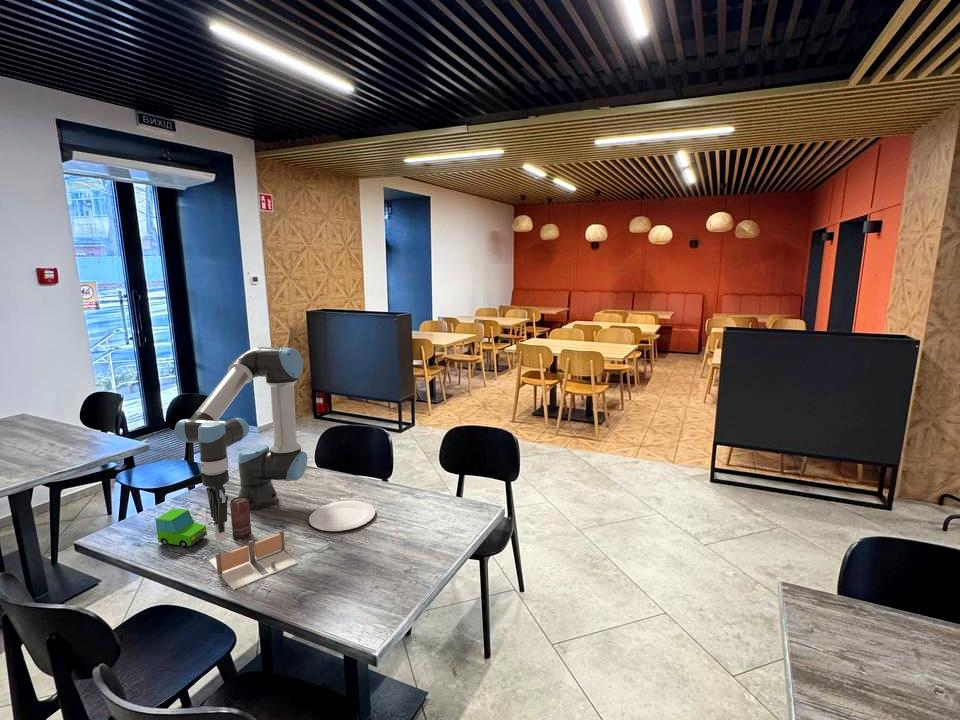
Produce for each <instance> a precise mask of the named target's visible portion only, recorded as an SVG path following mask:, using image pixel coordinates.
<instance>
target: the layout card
mask: <svg viewBox="0 0 960 720" xmlns="http://www.w3.org/2000/svg"><path fill="white" fill-rule="evenodd" d="M247 546H248V550H249V545H247ZM254 549H255V542H254ZM208 562H209V563H210V564H211V565H212V567H213V568H214V570H215V571H217V563H216V557H214V558H211V559H209V560H208ZM297 564H298V562H297V561H296V560H295V559H294V558H293V557H292V556H291V555H289V554H288V553H287V552H286V551H285V550H281V549H280V550H277V551H275V552H272V553H269V554H267V555H264V556H262V557H259V558H256V554H255V562H253V563H251V562H250V554H249V562H246V563H244V564H241V565H238V566H236V567H233V568H231V569H228V570H225V571H223V573H222V574H221V575H220V577H221V578H222V579H223V581H225V583H226V584H227V585H228V586H229V587H230V588H231V589H232V590H233V591H236V590H237V589H240V588H242V587H245V586H247V585H250V584H252V583H254V582H256V581H257V582H258V581H259V580H261V579H264V578H266V577H269V576H271V575H273V574H276V573H279V572H281V571H284V570H286V569H289V568H290V567H293V566H295V565H297ZM235 589H236V590H235Z"/></svg>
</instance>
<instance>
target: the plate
mask: <svg viewBox="0 0 960 720" xmlns="http://www.w3.org/2000/svg"><path fill="white" fill-rule="evenodd" d="M375 515H376V509H375V508H374V506H373V505H372V504H370V503H368V502H364V501H361V500H341V501H335V502H334V501H333V502H329V503H327V504H325V505H323V506H320V507H319V508H316V509H315V510H314V511H313V512H312V513H311V514H310V515H309V517H308V523H309V524H310V526H312V527H313V528H314V529H316V530H319V531H322V532H323V531H324V532H330V533H331V532H333V533H335V532H339V533H340V532H346V531H350V530H351V531H352V530H354V529H357V528H360V527H362V526H365V525H366V524H368V523H369V522H371V521H372V520H373V519H374V517H375Z"/></svg>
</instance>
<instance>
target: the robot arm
mask: <svg viewBox="0 0 960 720" xmlns="http://www.w3.org/2000/svg"><path fill="white" fill-rule="evenodd" d="M303 370H304V363H303V359H302V356H301V354H300V352H299V351H298V350H297V349H295V348H293V347H286V346H285V347H284V346H279V347H278V346H274V347H273V346H272V347H271V346H270V347H267V346H266V347H265V346H264V347H263V346H257V347H254V348H251V349H249V350H246V351H245V352H243V353H242V354H240V355H238V356H237V357H236V358H235V359H234V360H233V361H232V362H231V363H230V364H229V366H228V367H227V372H226V374H225V375H224V376H223V378H222V379H221V380H220V382H218V384H217V385H216V386H215V387H214V389H213V390H212V391H211V393H210V394H209V395H208V396H207V397H206V398H205V400H204V401H203V402H202V404H201V405H200V406H199V407H198V409H197V410H196V411H195V412H194V413H193V415H192V416H191V417H190V418H184V419H180V420H178V421H177V422H176V424H175V427H174V437H175V438H176V440H178V441H179V442H184V443H189V444H190V443H198V448H199V455H200V457H199V459H200V464H199V465H198V467H199V468H200V469H201V470H200V471H201V481H202V485H203V487H205V488H206V489H205V490H206V493H207V498H208V504H209V511H210V517H211V518H212V521H213V525H214V536H215V537H214V538H215V543H217V544H218V543H220V542H223V541H226V540H227V534H226V523H227V522H228V501H229V496H228V495H225V494H226V488H225V487H224V485H225V484H227V483H228V482H229V481H230V476H229V474H230V473H229V460H228V458H229V457H228V451H227V448H228V447H230V446H231V445H234V444H236V443H238V442H240V441H242V440H243V439H245V437H246V436H248V434H249V431H250V430H249V429H250V426H249V423H248V422H247V421H246V420H245V419H244V418H241V417H235V418H230V419H229V420H220V418H221V417H222V416H223V415H224V413H225V411H226V410H227V409H228V408H229V406H230V405H231V404H232V402H233V401H234V400H235V398H236V397H237V396H238V395H239V393H240V392H241V391H242V389H244V387H245V385H246V384H250V382H252V381H253V379H255V378H258V377H261V378H262V377H265V382H266V384H267V385H269V386H270V399H271V400H270V401H271V413H272V416H271V417H272V432H273V434H272V436H273V445H272V446H271V447H269V445H267V444H266V445H265V444H262V445H261V444H260V445H259V444H258V445H255V446H250V447H247V448H246V449H244V450H242V451H240V452H239V454H238V456H237V457H238V459H237V460H238V470H239V481H240V482H239V484H240V488H239V493H238V495H237V496H238V497H247V499H248V500H249V510H250V511H255V510H261V509H265V508H268V507H270V506H272V505H273V504H275V503H277V501H278V493H277V491H276V489H275V486H274V484H273V482H272V481H286V482H290V481H295V482H296V481H298V480H300V479H301V478H302V477H303V476H304V474H305V472H306V470H307V466H308V454H307V453H306V452H305V451H302V446H301V444H300V443H298V440H297V437H298V436H297V421H296V403H295V401H296V400H295V384H296V383H297V382H298V378H299V377H300V376H301V375H302V374H303Z"/></svg>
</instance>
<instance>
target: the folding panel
mask: <svg viewBox="0 0 960 720" xmlns="http://www.w3.org/2000/svg"><path fill="white" fill-rule="evenodd" d="M248 546H249V545H244V546H241V547H239V548H236V549H233V550H230V551H228V552H225V553H223V554H221V552H217V553H216V554H215V558H216V563H217V570H216V572H217V575H218V576H221V574H222V573H223V571H225V570H228V569H231V568H233V567H236V566H238V565H241V564H244V563H246V562H249V550H248Z"/></svg>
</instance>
